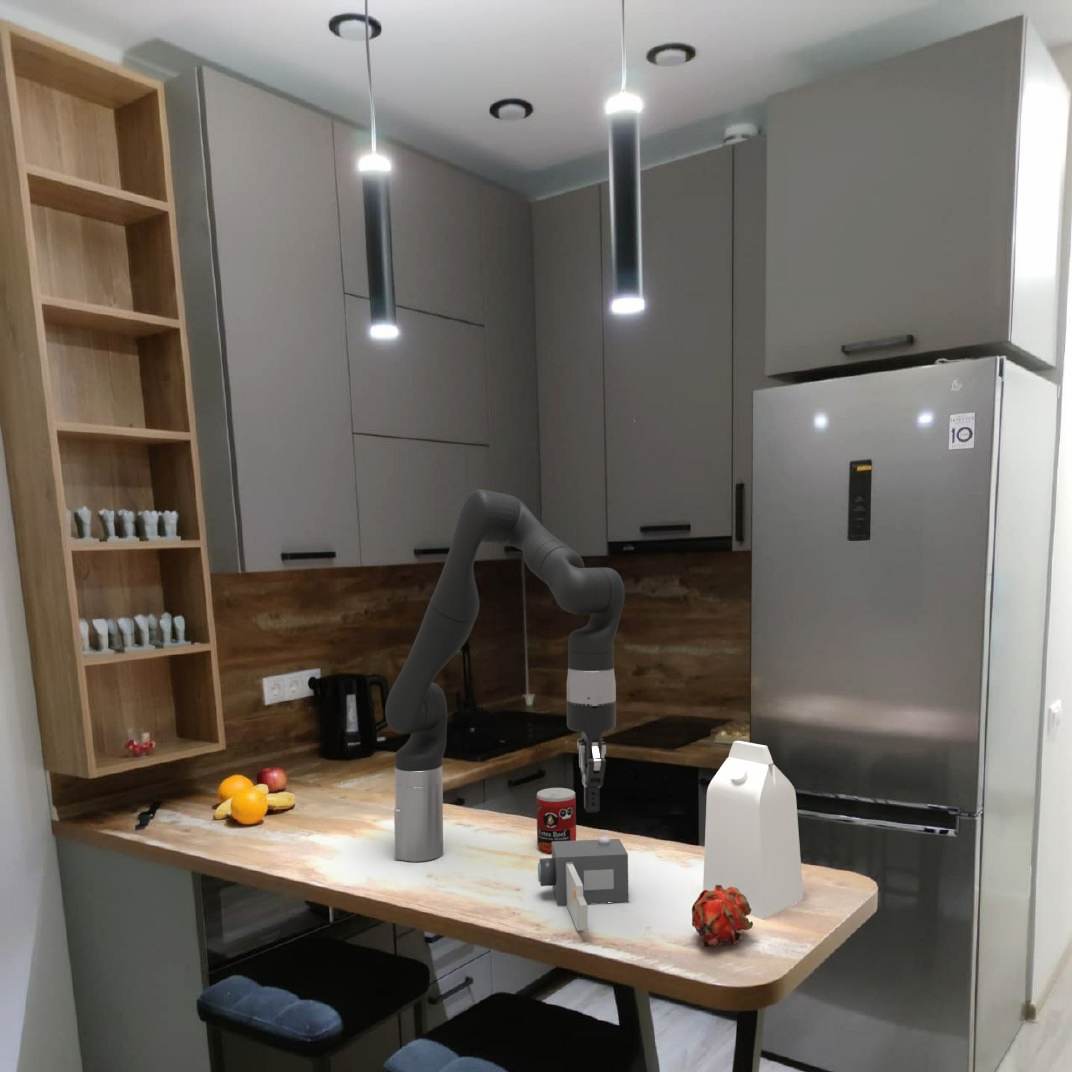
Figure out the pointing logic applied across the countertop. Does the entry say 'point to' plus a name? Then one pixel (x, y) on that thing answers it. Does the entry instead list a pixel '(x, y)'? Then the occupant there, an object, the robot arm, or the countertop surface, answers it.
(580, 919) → the side door
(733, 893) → the dragon fruit
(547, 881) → the camera body
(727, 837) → the milk
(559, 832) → the canned food
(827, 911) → the countertop surface
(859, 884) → the countertop surface
